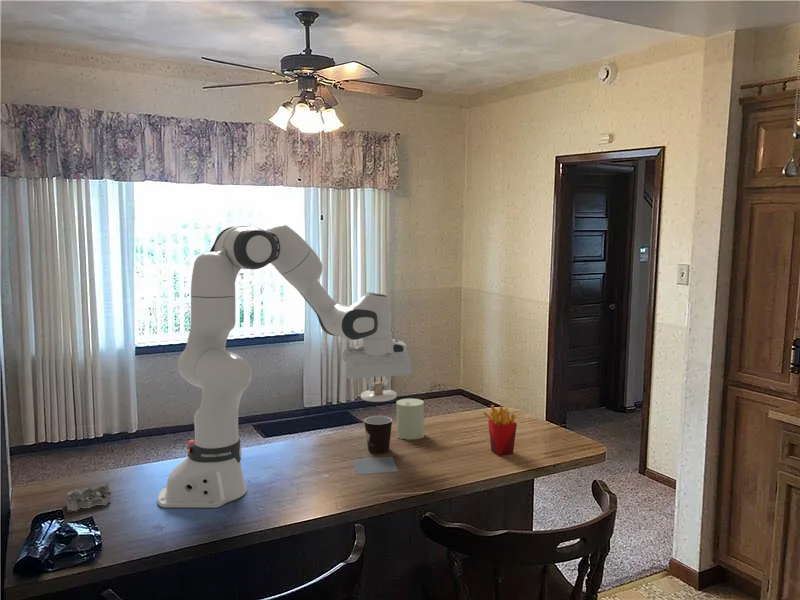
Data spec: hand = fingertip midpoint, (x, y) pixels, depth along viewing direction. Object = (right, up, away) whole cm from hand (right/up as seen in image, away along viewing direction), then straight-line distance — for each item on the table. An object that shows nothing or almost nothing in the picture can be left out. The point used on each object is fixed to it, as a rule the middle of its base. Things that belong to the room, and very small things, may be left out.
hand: (378, 390), depth 204 cm
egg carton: (-74, -25, -31) cm, 84 cm away
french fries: (+37, -20, +1) cm, 42 cm away
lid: (0, -2, 0) cm, 2 cm away
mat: (-1, -21, -8) cm, 23 cm away
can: (+10, -18, +19) cm, 28 cm away
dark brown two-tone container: (0, -20, +6) cm, 20 cm away
